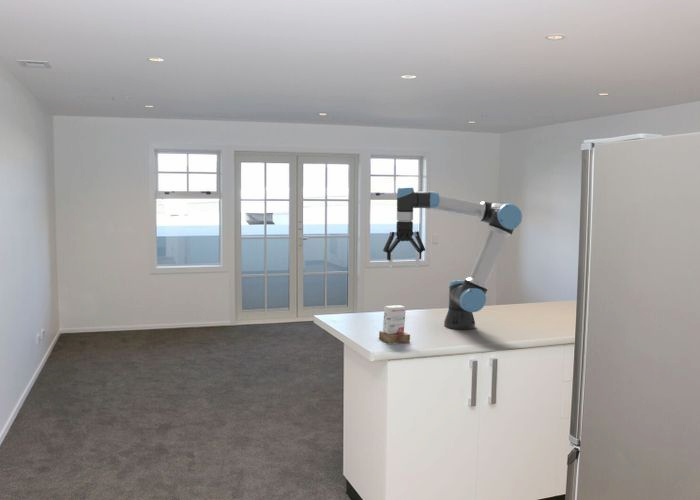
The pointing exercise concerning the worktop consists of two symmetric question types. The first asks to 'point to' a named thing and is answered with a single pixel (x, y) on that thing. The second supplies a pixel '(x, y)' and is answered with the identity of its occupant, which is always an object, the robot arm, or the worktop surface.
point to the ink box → (394, 319)
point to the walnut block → (394, 337)
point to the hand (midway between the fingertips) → (404, 266)
